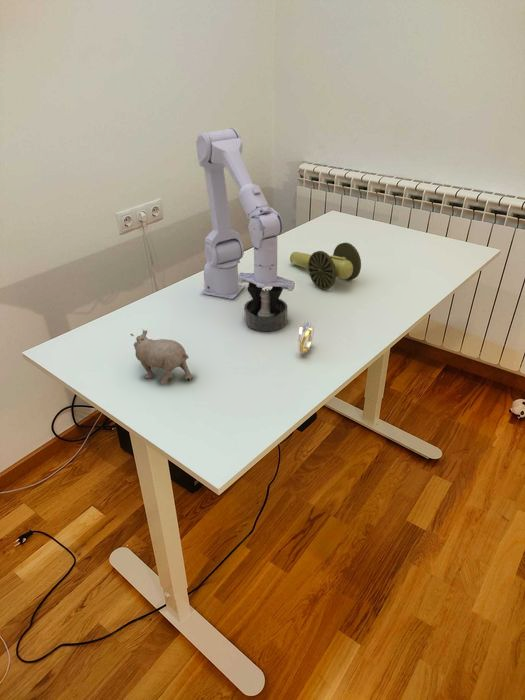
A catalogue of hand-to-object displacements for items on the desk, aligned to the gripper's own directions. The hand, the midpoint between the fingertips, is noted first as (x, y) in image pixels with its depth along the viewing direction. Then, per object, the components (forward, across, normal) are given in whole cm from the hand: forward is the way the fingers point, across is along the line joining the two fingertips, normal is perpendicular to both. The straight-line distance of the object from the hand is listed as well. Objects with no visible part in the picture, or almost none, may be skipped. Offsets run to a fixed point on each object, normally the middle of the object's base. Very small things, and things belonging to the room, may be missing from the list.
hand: (265, 310), depth 131 cm
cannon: (+4, +6, +31) cm, 32 cm away
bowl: (+3, 0, 0) cm, 3 cm away
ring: (+4, +14, -10) cm, 18 cm away
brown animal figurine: (+4, -15, -29) cm, 33 cm away
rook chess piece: (+3, 0, 0) cm, 3 cm away
